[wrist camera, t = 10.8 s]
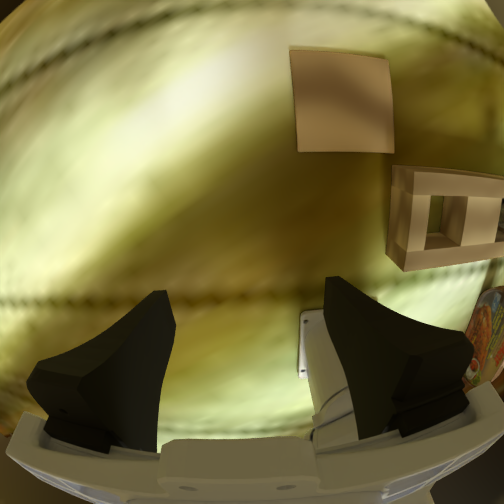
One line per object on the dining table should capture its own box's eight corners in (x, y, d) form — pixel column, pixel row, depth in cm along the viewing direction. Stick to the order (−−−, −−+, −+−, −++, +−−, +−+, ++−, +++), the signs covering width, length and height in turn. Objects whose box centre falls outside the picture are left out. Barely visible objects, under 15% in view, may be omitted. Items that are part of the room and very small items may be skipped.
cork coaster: (391, 152, 19) (394, 153, 19) (297, 151, 19) (298, 152, 19) (385, 60, 16) (388, 59, 16) (289, 51, 16) (290, 50, 16)
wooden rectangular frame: (500, 241, 23) (518, 253, 20) (385, 254, 23) (403, 271, 20) (510, 177, 20) (530, 184, 16) (391, 164, 20) (414, 171, 17)
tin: (484, 276, 25) (525, 312, 17) (497, 272, 25) (537, 306, 17) (451, 362, 31) (476, 401, 23) (464, 357, 31) (489, 393, 23)
